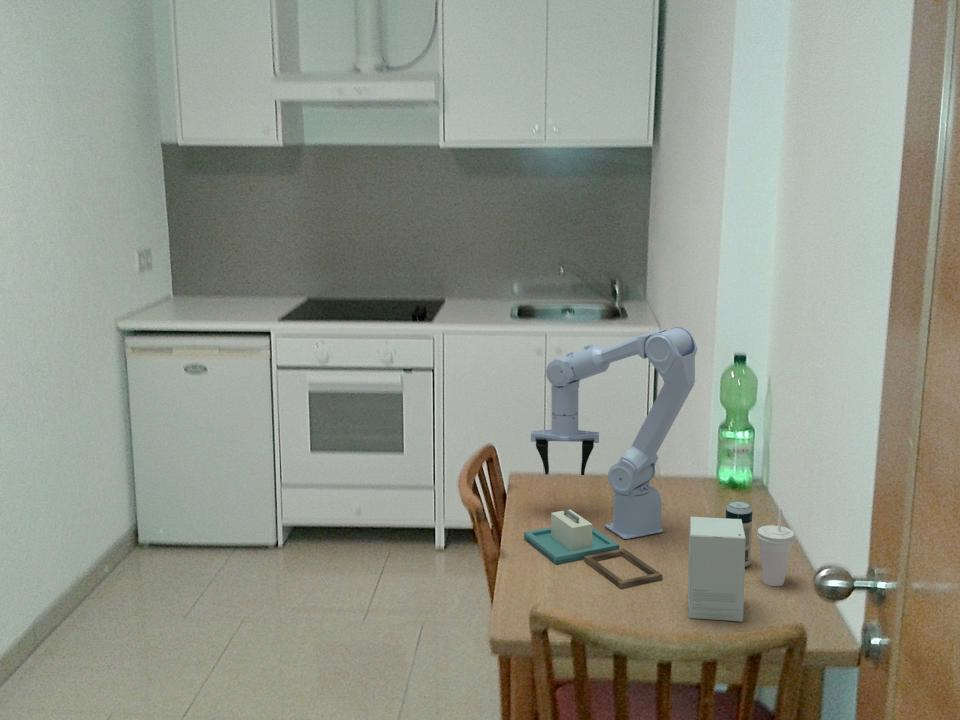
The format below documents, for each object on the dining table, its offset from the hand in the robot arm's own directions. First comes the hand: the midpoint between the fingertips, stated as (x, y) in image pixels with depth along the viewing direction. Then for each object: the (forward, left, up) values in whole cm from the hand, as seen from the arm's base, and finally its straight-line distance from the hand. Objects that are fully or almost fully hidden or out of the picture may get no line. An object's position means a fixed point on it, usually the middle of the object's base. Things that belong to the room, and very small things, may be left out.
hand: (564, 473), depth 203 cm
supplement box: (-2, +50, -10) cm, 51 cm away
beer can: (-17, +37, -10) cm, 42 cm away
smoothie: (-18, +46, -10) cm, 50 cm away
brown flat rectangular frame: (+4, +30, -9) cm, 32 cm away
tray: (+7, +16, -9) cm, 19 cm away
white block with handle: (+7, +16, -9) cm, 19 cm away
